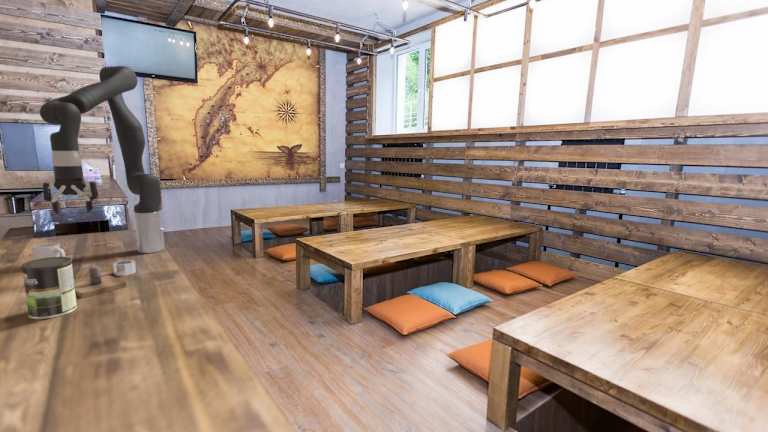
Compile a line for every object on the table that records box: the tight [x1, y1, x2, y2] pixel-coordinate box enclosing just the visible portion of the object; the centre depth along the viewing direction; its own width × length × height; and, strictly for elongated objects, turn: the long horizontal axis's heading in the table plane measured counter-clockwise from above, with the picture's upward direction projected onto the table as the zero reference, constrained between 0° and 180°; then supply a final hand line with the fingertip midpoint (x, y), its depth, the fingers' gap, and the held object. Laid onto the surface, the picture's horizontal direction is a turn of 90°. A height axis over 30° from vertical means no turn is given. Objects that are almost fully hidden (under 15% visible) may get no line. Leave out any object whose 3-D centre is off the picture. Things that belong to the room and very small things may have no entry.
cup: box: [31, 242, 66, 260], centre depth 143 cm, size 11×8×8 cm
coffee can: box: [20, 256, 78, 320], centre depth 104 cm, size 10×10×14 cm
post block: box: [74, 266, 127, 299], centre depth 122 cm, size 12×12×6 cm
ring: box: [112, 259, 137, 277], centre depth 137 cm, size 6×6×4 cm
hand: (73, 212), depth 131 cm, fingers open, 8 cm apart
